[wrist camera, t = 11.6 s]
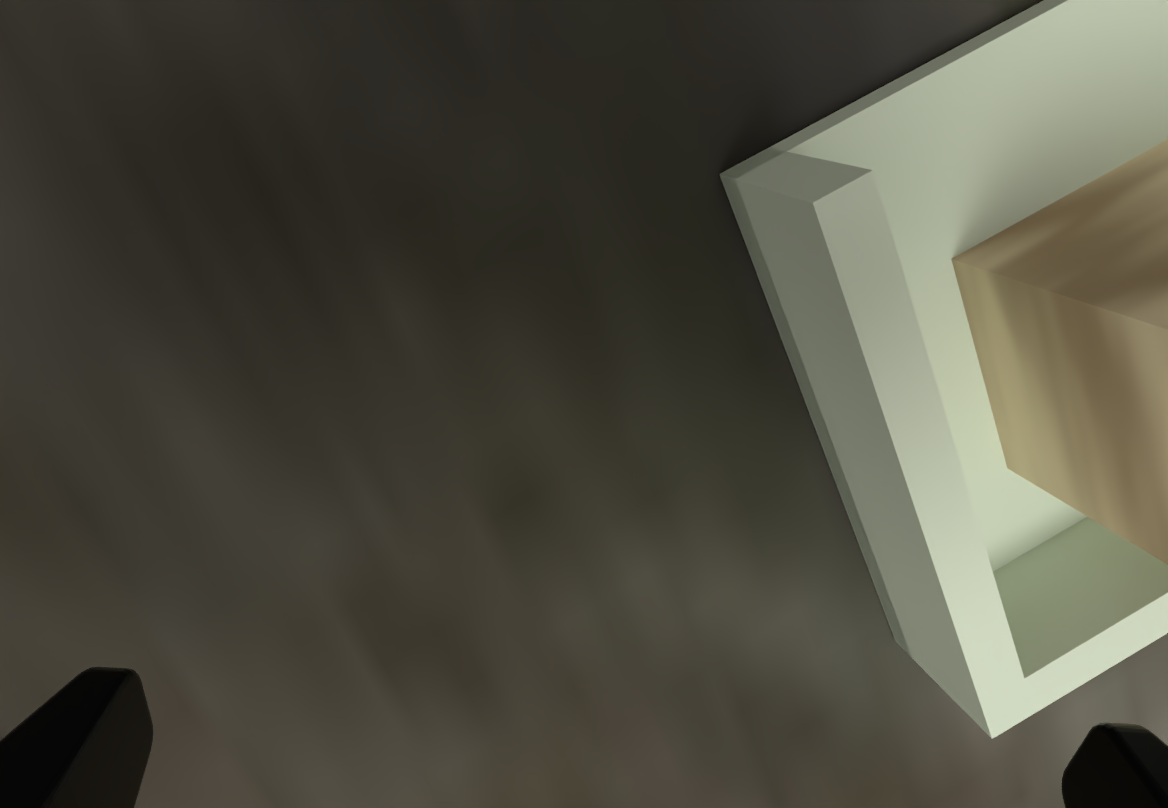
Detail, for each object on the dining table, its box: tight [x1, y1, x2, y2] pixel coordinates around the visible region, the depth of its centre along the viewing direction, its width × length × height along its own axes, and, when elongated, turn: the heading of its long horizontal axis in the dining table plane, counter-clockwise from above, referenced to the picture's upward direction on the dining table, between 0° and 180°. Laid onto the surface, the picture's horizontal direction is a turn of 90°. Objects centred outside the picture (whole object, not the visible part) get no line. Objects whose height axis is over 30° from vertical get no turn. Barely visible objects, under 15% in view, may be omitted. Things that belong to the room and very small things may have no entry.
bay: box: [719, 0, 1168, 739], centre depth 21 cm, size 14×14×4 cm
